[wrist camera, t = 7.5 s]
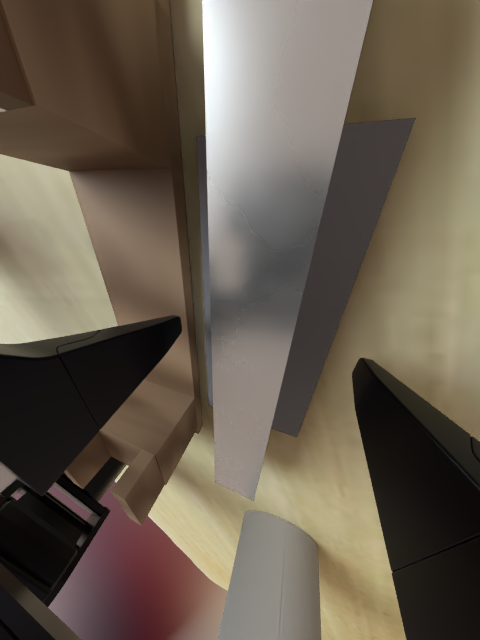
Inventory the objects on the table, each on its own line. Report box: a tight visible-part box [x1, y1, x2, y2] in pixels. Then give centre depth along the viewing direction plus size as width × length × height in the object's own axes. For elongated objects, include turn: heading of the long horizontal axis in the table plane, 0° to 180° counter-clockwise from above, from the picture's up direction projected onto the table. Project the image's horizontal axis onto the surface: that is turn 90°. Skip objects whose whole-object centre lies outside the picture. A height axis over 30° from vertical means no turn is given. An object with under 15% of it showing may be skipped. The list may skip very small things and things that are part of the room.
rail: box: [202, 0, 373, 501], centre depth 8 cm, size 24×3×3 cm, turn 177°
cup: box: [218, 511, 321, 640], centre depth 17 cm, size 9×9×12 cm
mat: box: [196, 118, 416, 437], centre depth 10 cm, size 16×7×1 cm, turn 177°
